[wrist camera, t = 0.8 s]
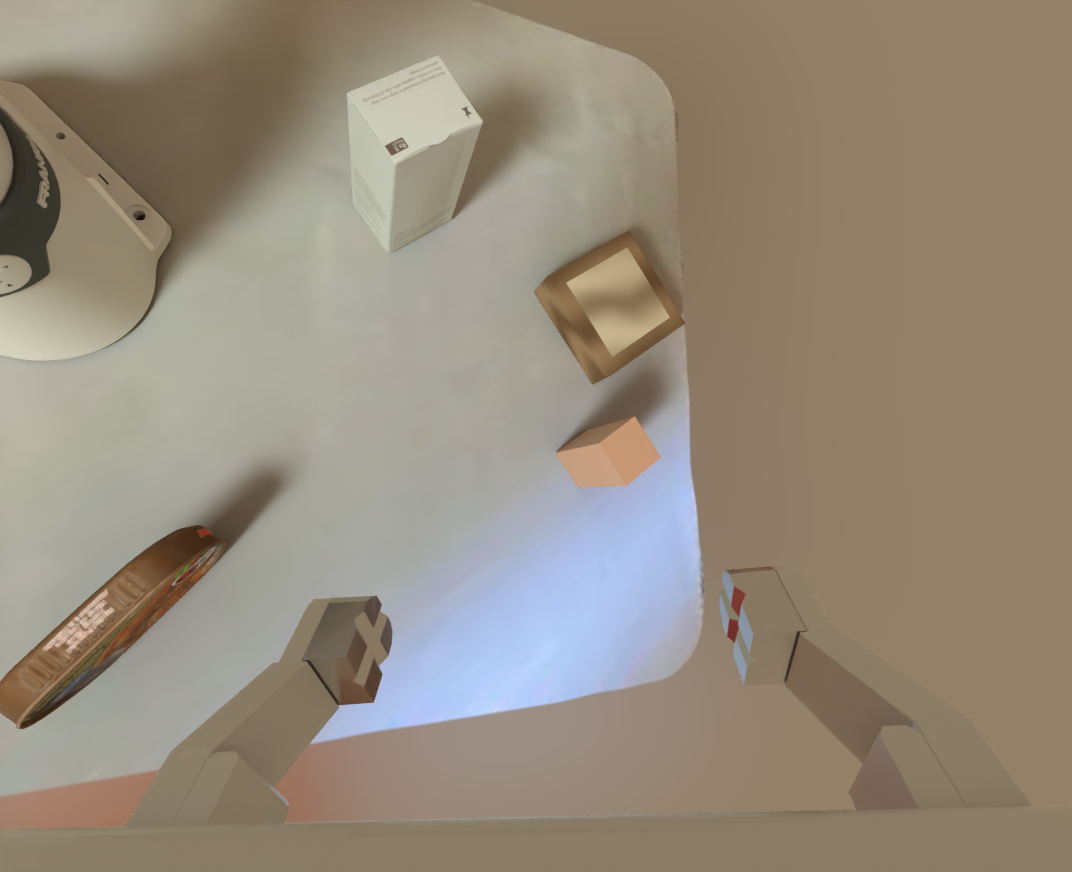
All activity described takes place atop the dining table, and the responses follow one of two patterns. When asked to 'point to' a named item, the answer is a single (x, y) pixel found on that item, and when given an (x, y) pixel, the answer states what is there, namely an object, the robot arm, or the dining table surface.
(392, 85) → the skincare box
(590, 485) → the terracotta block
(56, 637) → the tin
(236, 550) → the dining table surface
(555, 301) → the plinth
